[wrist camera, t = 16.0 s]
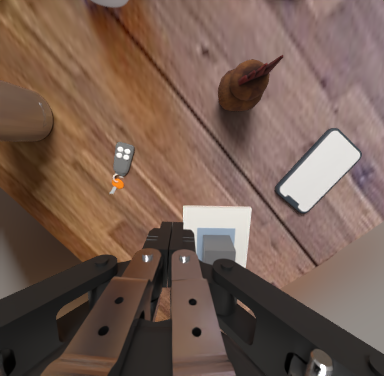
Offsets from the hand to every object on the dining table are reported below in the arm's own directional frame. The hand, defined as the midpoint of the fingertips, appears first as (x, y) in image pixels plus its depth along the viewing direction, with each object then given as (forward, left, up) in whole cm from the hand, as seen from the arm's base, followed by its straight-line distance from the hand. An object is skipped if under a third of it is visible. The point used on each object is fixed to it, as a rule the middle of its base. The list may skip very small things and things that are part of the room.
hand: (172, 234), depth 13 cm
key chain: (-13, 0, -26) cm, 29 cm away
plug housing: (+7, -17, -24) cm, 30 cm away
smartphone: (+26, +1, -26) cm, 37 cm away
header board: (+7, -17, -25) cm, 31 cm away
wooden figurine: (+9, +14, -25) cm, 30 cm away
